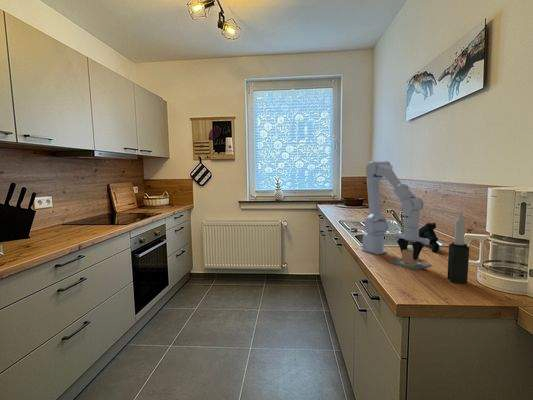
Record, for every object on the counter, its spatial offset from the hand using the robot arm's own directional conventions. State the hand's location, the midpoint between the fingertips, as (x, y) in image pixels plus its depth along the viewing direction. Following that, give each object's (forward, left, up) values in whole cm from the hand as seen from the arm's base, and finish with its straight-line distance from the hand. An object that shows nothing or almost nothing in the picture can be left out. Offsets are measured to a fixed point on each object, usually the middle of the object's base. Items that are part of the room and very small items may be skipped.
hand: (410, 258), depth 119 cm
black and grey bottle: (+20, -4, -3) cm, 21 cm away
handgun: (-12, +34, -3) cm, 36 cm away
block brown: (0, 0, -2) cm, 2 cm away
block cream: (-5, +9, -3) cm, 11 cm away
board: (0, 0, -3) cm, 3 cm away
